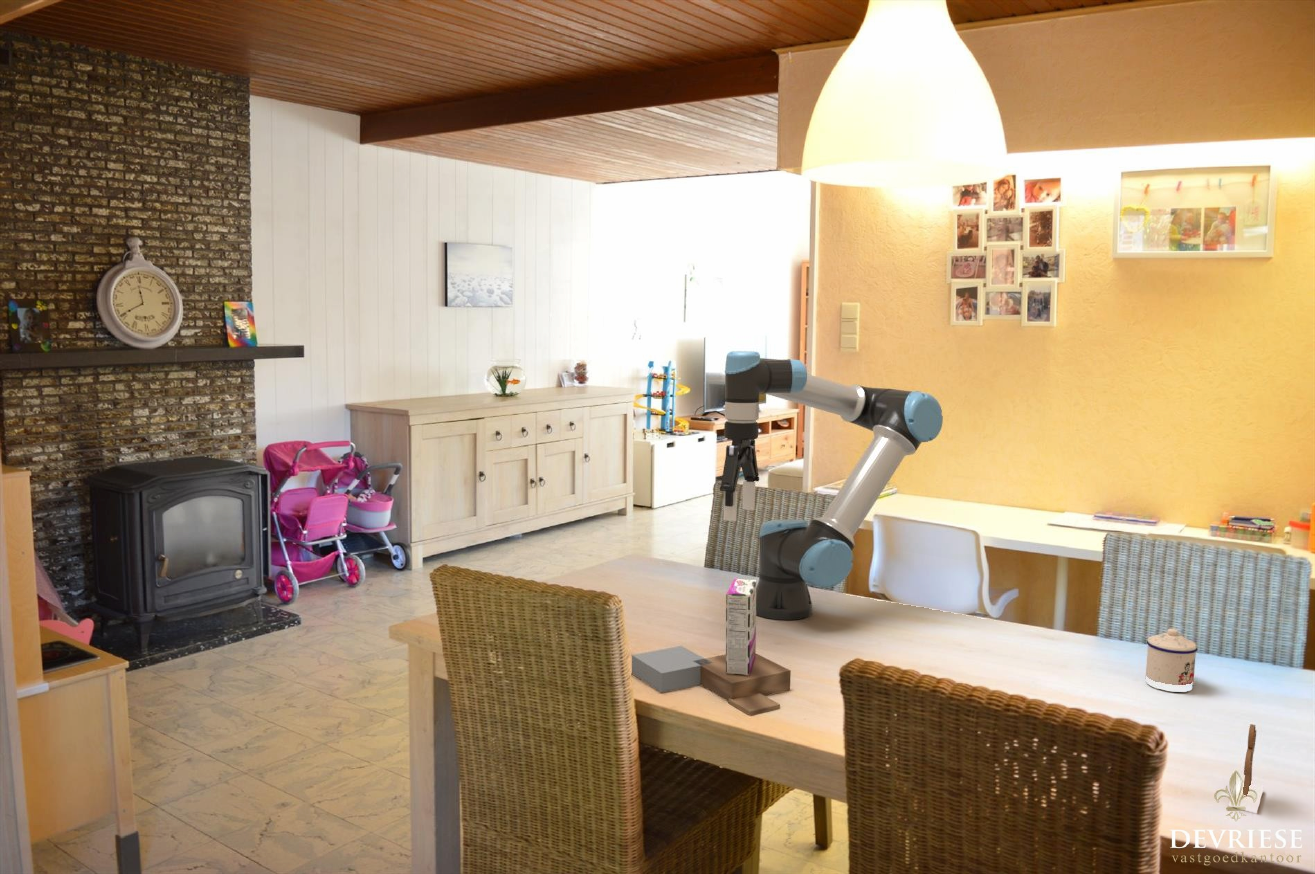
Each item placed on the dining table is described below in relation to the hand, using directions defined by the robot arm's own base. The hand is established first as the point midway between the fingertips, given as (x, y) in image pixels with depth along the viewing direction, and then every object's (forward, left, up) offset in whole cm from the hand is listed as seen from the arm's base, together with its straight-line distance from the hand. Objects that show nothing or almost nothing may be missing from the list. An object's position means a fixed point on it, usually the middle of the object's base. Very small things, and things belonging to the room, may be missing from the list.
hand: (739, 515), depth 227 cm
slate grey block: (+26, +14, -29) cm, 41 cm away
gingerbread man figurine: (-25, +102, -29) cm, 108 cm away
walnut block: (+16, +24, -29) cm, 41 cm away
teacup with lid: (-61, +66, -29) cm, 94 cm away
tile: (+20, +34, -29) cm, 49 cm away
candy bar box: (+16, +24, -25) cm, 38 cm away
